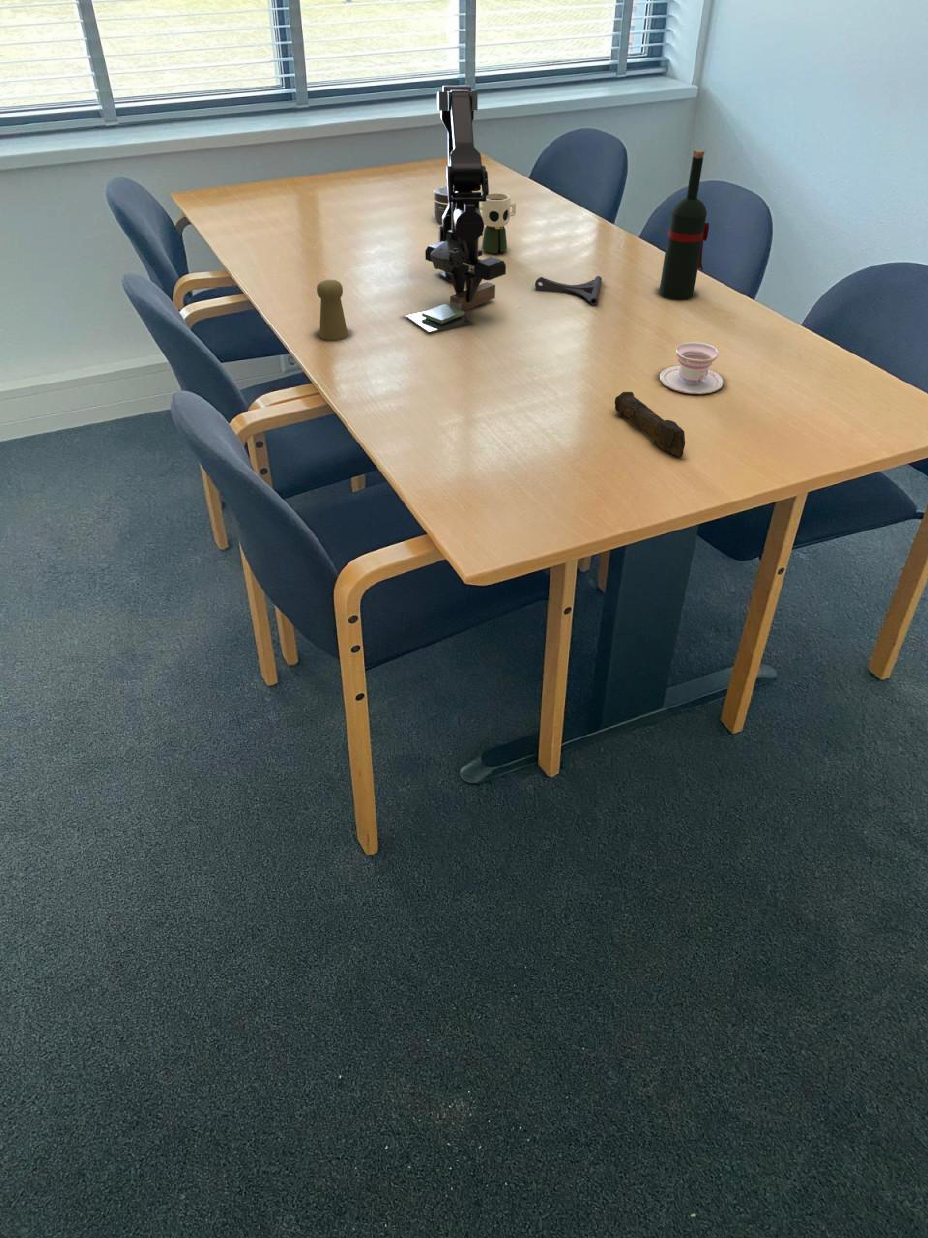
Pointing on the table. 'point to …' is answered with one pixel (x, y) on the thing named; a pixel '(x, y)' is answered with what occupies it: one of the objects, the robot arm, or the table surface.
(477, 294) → the spatula
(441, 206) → the jar
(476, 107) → the robot arm
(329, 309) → the olive brown pawn
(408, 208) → the table surface
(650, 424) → the dark brown long bar
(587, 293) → the bracket
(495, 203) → the character mug
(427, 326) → the plate
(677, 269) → the wine bottle
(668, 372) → the teacup
